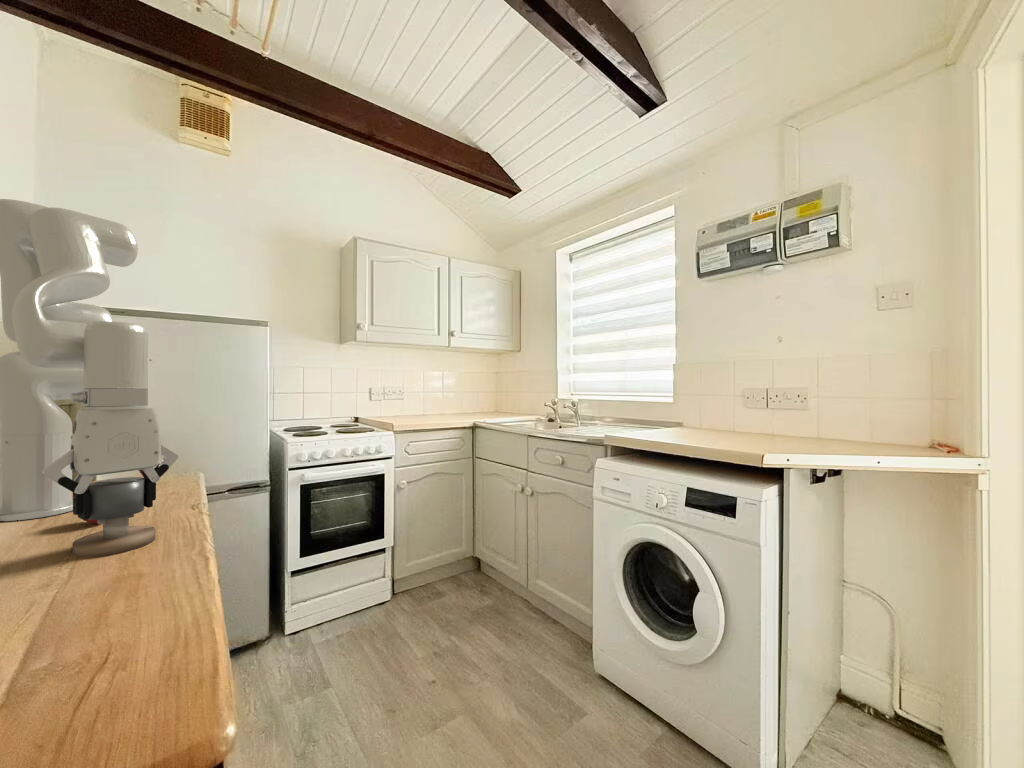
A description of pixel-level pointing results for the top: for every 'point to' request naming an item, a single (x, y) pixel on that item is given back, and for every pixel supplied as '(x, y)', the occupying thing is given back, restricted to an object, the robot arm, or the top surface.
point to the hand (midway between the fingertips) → (116, 511)
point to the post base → (114, 538)
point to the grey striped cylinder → (116, 497)
